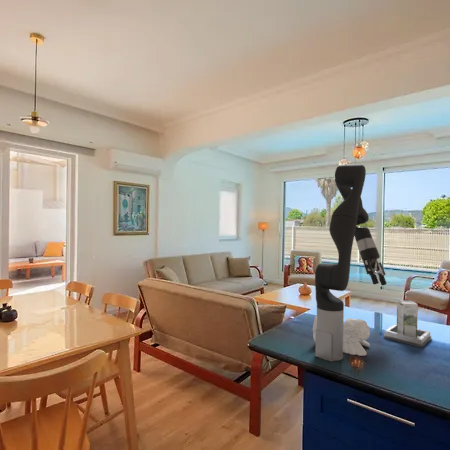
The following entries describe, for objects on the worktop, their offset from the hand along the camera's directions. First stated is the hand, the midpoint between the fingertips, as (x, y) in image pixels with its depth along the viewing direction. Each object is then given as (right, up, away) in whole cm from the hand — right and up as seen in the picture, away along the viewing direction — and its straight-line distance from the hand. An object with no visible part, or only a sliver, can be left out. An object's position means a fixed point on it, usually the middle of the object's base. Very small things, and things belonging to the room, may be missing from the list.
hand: (380, 284), depth 132 cm
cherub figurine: (-22, -22, -14) cm, 34 cm away
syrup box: (+9, -21, -4) cm, 23 cm away
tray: (+9, -22, -5) cm, 24 cm away
